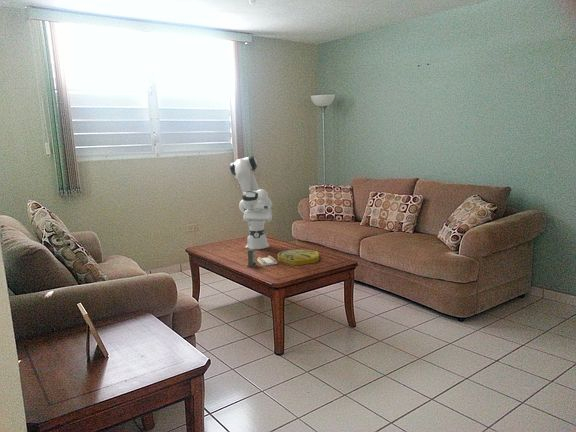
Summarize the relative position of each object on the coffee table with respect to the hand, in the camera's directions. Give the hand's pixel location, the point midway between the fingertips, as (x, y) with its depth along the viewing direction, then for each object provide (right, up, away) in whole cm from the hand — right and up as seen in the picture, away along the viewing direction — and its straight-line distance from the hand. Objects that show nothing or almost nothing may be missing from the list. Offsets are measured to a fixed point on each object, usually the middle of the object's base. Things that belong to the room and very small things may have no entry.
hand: (255, 225), depth 301 cm
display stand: (+8, -25, 0) cm, 26 cm away
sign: (+30, -24, +7) cm, 38 cm away
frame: (-2, -27, -7) cm, 28 cm away
